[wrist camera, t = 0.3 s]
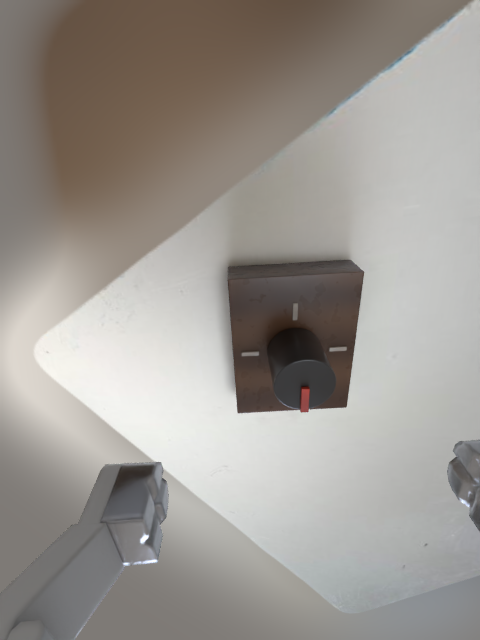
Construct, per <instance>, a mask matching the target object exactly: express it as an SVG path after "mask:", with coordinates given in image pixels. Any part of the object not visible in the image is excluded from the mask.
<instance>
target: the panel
mask: <svg viewBox="0 0 480 640" xmlns="http://www.w3.org/2000/svg"><path fill="white" fill-rule="evenodd" d="M363 276H364V271H363V270H361V269H360V268H359V267H358V266H357V265H356V264H355V263H354V262H352V261H351V260H342V261H324V262H307V263H289V264H272V265H255V266H237V267H228V290H229V303H230V317H231V330H232V344H233V357H234V371H235V384H236V398H237V411H238V413H251V412H270V411H288V410H300V409H294V408H290V407H288V406H285V405H284V404H282V403H281V402H280V401H279V400H278V399H277V397H276V396H275V393H274V390H273V384H272V378H271V372H270V367H269V361H268V355H267V351H268V346H269V344H270V342H271V340H272V339H273V338H274V337H275V336H276V335H277V334H278V333H280V332H282V331H284V330H287V329H290V328H302V329H306V330H309V331H310V332H312V333H313V334H315V335H316V336H317V338H318V339H319V341H320V343H321V345H322V348H323V350H324V352H325V354H326V356H327V358H328V360H329V363H330V365H331V367H332V369H333V371H334V373H335V376H336V387H335V390H334V392H333V394H332V395H331V396H330V398H329V399H328V400H326V401H325V402H324V403H322V404H321V405H319V406H316V407H314V408H310V409H325V408H343V407H347V400H348V392H349V385H350V377H351V369H352V361H353V353H354V346H355V338H356V330H357V322H358V315H359V307H360V299H361V291H362V284H363Z"/></svg>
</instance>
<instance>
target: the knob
mask: <svg viewBox="0 0 480 640" xmlns="http://www.w3.org/2000/svg"><path fill="white" fill-rule="evenodd" d="M267 355H268V361H269V367H270V372H271V378H272V384H273V390H274V393H275V396H276V397H277V399H278V400H279V401H280V402H281V403H282V404H284V405H285V406H288V407H290V408H294V409H300V411H301V412H308V410H309V409H310V408H314V407H316V406H319V405H321V404H322V403H324V402H325V401H326V400H328V399H329V398H330V396H331V395H332V394H333V392H334V390H335V387H336V376H335V373H334V371H333V369H332V367H331V365H330V363H329V360H328V358H327V356H326V354H325V352H324V350H323V348H322V345H321V343H320V341H319V339H318V338H317V336H316V335H315V334H313V333H312V332H310V331H309V330H306V329H302V328H290V329H287V330H284V331H282V332H280V333H278V334H277V335H276V336H275V337H274V338H273V339H272V340H271V342H270V344H269V346H268V351H267Z"/></svg>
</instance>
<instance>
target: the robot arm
mask: <svg viewBox="0 0 480 640" xmlns="http://www.w3.org/2000/svg"><path fill="white" fill-rule="evenodd" d="M453 452H454V453H455V455H456V456H457V457H455V458H454V459H453V460H452V461H451V462H449V466H448V470H447V474H448V480H449V483H450V486H451V488H452V490H453V492H454V493H455V495H456V497H457V498H458V499H459V500H460V501H461V502H463V503H464V504H466V505H467V506H469V507H470V509H469V516H470V518H471V519H472V521H473V522H474V524H475V525H476V527H477V528H478V530H479V531H480V440H471V441H459V442H458V443H457V444H455V447H454V449H453ZM163 471H164V470H163V467H162V464H161V462H145V463H122V464H106V465H105V466H104V467H103V468H102V470H101V471H100V473H99V476H98V478H97V480H96V483H95V485H94V487H93V490H92V492H91V494H90V497H89V499H88V501H87V504H86V506H85V508H84V511H83V513H82V515H81V518H80V520H79V522H78V524H75V525H71V526H70V527H69V528H68V529H67V530H66V531H65V532H64V533H63V534H62V535H61V536H60V537H59V538H58V539H57V540H56V541H55V542H53V543H52V544H51V545H50V546H49V547H48V548H47V549H46V550H45V551H44V552H43V553H42V554H41V555H40V556H39V557H38V558H37V559H36V560H35V561H34V562H32V563H31V564H30V565H29V566H28V567H27V568H26V569H25V570H24V571H23V572H22V573H21V574H20V575H19V576H18V577H17V578H16V579H15V580H14V581H13V582H12V583H11V584H9V585H8V586H7V587H6V588H5V589H4V590H3V591H2V592H1V593H0V640H74V639H75V638H76V636H77V635H78V634H79V632H80V631H81V629H82V628H83V627H84V625H85V624H86V622H87V621H88V620H89V618H90V617H91V615H92V614H93V612H94V611H95V610H96V608H97V607H98V605H99V604H100V603H101V601H102V600H103V598H104V597H105V595H106V594H107V592H108V591H109V590H110V588H111V587H112V585H113V584H114V583H115V581H116V580H117V578H118V577H119V575H120V574H121V573H122V571H123V570H124V568H125V567H124V566H127V565H138V564H148V563H157V562H158V558H159V553H160V548H161V542H162V537H163V534H162V530H161V527H160V525H161V523H162V522H163V521H164V520H165V518H166V515H167V509H168V497H169V494H168V486H167V482H166V480H164V479H163V478H162V475H163Z"/></svg>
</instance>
